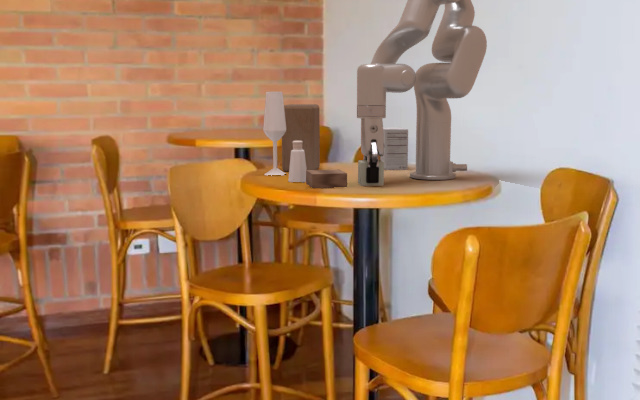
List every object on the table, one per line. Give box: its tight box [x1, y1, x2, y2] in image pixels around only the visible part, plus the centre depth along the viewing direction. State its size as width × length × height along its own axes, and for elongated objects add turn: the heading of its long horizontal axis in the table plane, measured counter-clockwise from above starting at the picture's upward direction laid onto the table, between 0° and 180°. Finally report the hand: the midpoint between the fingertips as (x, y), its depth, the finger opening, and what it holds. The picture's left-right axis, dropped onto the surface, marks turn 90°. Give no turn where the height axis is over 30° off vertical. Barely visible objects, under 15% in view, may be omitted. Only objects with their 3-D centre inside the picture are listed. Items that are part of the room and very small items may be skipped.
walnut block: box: [305, 168, 348, 189], centre depth 185 cm, size 9×9×4 cm
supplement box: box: [379, 126, 409, 171], centre depth 221 cm, size 7×7×13 cm
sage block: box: [357, 159, 385, 187], centre depth 188 cm, size 6×6×6 cm
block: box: [281, 103, 321, 172], centre depth 218 cm, size 10×10×20 cm
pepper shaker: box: [288, 141, 306, 183], centre depth 193 cm, size 5×5×11 cm
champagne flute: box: [262, 91, 287, 177], centre depth 207 cm, size 7×7×24 cm
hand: (370, 180), depth 188 cm, fingers closed on sage block, 6 cm apart
